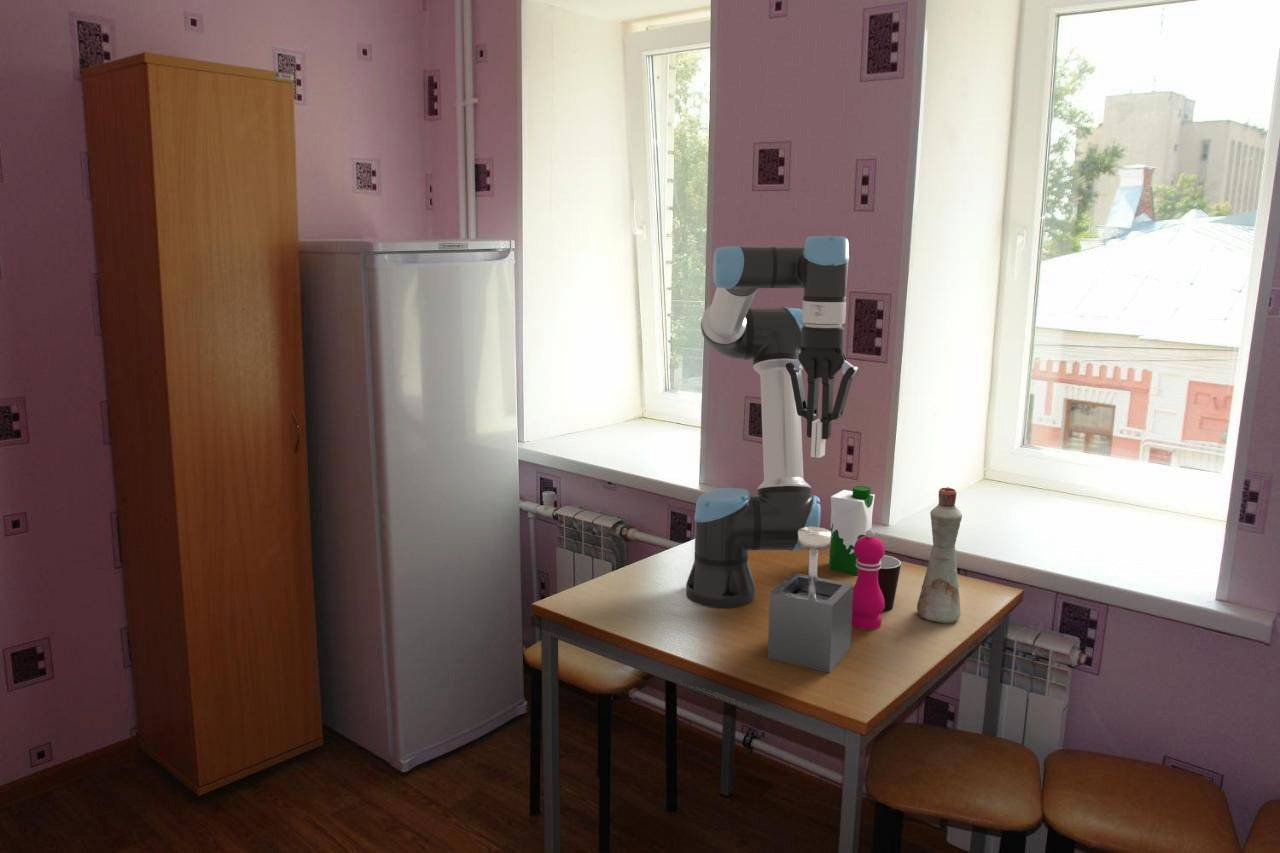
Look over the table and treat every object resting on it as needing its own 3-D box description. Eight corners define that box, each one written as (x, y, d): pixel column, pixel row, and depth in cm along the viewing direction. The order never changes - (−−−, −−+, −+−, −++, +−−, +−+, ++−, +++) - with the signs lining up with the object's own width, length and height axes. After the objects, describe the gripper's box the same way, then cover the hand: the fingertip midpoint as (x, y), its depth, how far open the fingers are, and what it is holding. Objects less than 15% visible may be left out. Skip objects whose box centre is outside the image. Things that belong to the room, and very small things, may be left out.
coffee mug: (899, 615, 196) (902, 569, 194) (857, 611, 198) (859, 566, 196) (896, 594, 208) (898, 551, 206) (856, 591, 209) (858, 548, 207)
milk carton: (859, 577, 218) (863, 494, 214) (823, 569, 223) (827, 487, 219) (874, 567, 225) (878, 485, 221) (838, 559, 230) (842, 479, 226)
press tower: (767, 658, 176) (769, 592, 174) (791, 635, 187) (793, 572, 184) (829, 673, 170) (832, 605, 168) (850, 648, 181) (853, 584, 178)
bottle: (910, 620, 194) (919, 488, 189) (922, 605, 202) (931, 478, 196) (953, 629, 190) (963, 494, 184) (964, 614, 197) (974, 484, 192)
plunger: (783, 609, 175) (786, 534, 172) (798, 595, 182) (801, 522, 179) (824, 618, 171) (828, 541, 168) (838, 604, 178) (842, 529, 175)
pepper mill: (844, 616, 196) (848, 523, 192) (879, 616, 196) (884, 524, 192) (850, 630, 189) (855, 535, 185) (887, 631, 189) (892, 535, 185)
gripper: (780, 325, 166) (775, 455, 171) (853, 329, 160) (847, 464, 164) (795, 321, 173) (790, 447, 177) (866, 325, 166) (860, 456, 171)
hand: (817, 455), depth 171 cm, fingers closed
